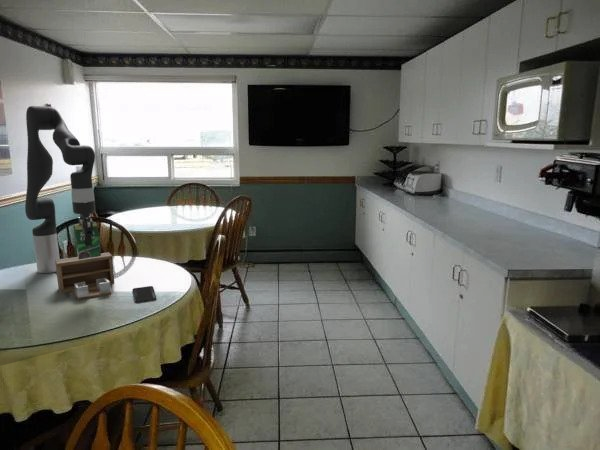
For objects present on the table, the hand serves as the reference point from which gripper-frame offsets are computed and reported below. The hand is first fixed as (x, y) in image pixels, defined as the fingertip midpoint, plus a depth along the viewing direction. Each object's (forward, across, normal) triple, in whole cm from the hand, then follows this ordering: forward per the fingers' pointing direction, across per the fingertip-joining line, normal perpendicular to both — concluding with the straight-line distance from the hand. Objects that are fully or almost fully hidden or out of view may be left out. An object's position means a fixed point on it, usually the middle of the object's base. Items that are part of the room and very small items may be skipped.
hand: (87, 244), depth 164 cm
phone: (+21, +12, +16) cm, 29 cm away
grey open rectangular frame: (+20, 0, 0) cm, 20 cm away
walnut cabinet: (+20, -6, 0) cm, 21 cm away
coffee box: (+5, 0, 0) cm, 5 cm away
